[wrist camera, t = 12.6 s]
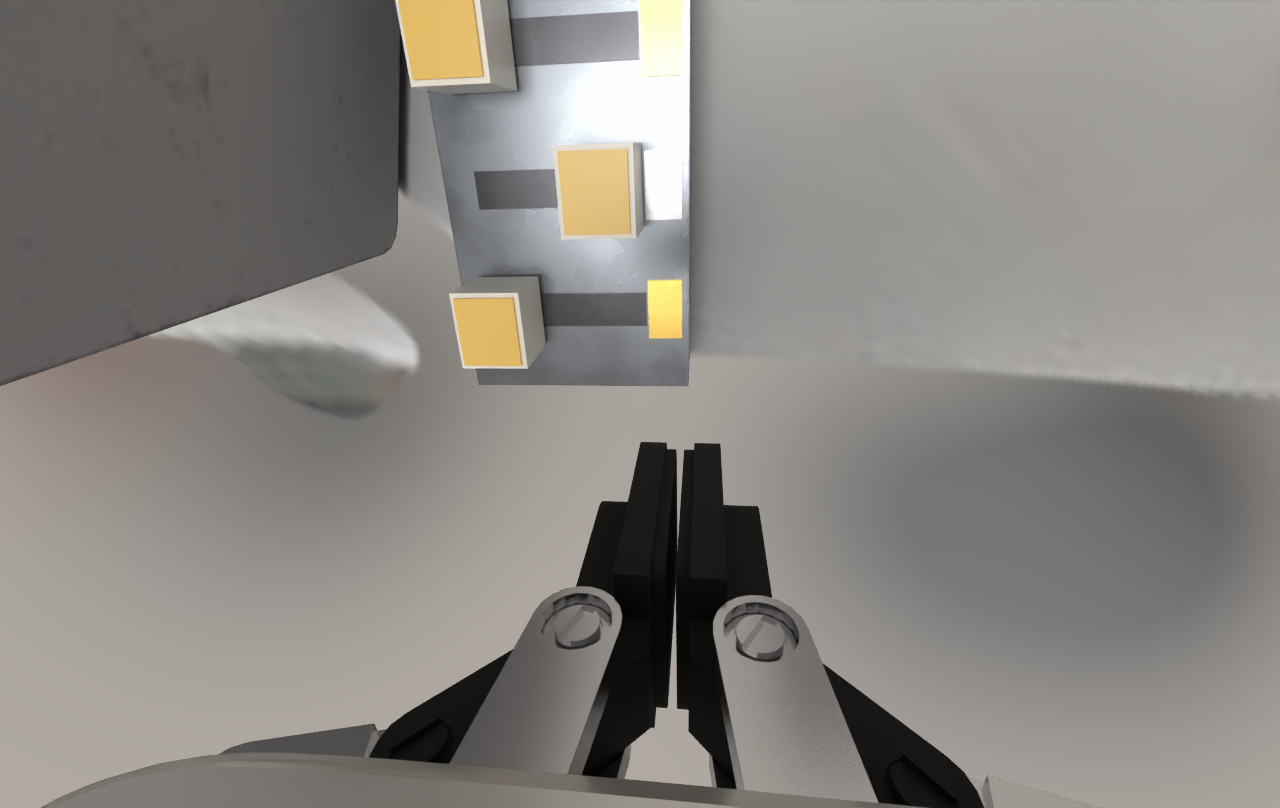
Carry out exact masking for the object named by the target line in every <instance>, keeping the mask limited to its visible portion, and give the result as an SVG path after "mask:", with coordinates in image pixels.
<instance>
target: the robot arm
mask: <svg viewBox="0 0 1280 808" xmlns="http://www.w3.org/2000/svg"><path fill="white" fill-rule="evenodd" d="M694 447H695V448H694V450H684V461H683V476H682V492H681V507H680V522H679V537H678V552H677V458H676V457H677V455H676V450H674V449H673V450H672V449H667V443H660V442H658V443H657V442H641V444H640V448H639V453H638V457H637V462H636V467H635V471H634V476H633V481H632V485H631V490H630V495H629V499H628V502H612V501H602V502H601V504H600V506H599V509H598V513H597V516H596V520H595V523H594V527H593V530H592V533H591V537H590V540H589V544H588V547H587V551H586V554H585V558H584V561H583V565H582V568H581V571H580V575H579V578H578V582H577V585H576V587H572V588H566V589H563V590H561V591H559V592H557V593H554V594H552V595H551V596H549V597H548V598H547V599H545V600H544V601H543V602H542V603H541V604H540V605H539V606H538V608H537V609H536V610H535V612H534V613H533V615H532V617H531V619H530V620H529V622H528V624H527V626H526V628H525V629H524V631H523V633H522V635H521V637H520V638H519V640H518V642H517V644H516V646H515V647H514V649H513V650H511V651H509V652H508V653H506V654H504V655H503V656H501V657H499V658H498V659H496V660H494V661H493V662H491V663H489V664H488V665H486V666H484V667H483V668H481V669H479V670H478V671H476V672H474V673H473V674H471V675H469V676H468V677H466V678H464V679H463V680H461V681H459V682H458V683H456V684H454V685H453V686H451V687H449V688H448V689H446V690H444V691H443V692H441V693H439V694H437V695H436V696H434V697H432V698H431V699H429V700H427V701H426V702H424V703H422V704H421V705H419V706H418V707H416V708H414V709H412V710H411V711H410V712H407V713H406V714H404V715H403V716H402V717H401V718H399V719H398V720H397V721H395V722H394V723H393V724H391V725H390V726H389V727H388V729H386V730H380V731H377V729H376V726H375V724H368V725H361V726H354V727H348V728H341V729H335V730H328V731H321V732H314V733H307V734H300V735H293V736H287V737H280V738H273V739H266V740H260V741H253V742H248V743H244V744H241V745H238V746H234V747H231V748H229V749H227V750H225V751H224V752H222V753H220V754H218V755H208V756H200V757H194V758H188V759H183V760H176V761H171V762H165V763H160V764H156V765H152V766H149V767H145V768H142V769H138V770H135V771H131V772H128V773H124V774H120V775H117V776H114V777H110V778H107V779H104V780H101V781H99V782H96V783H93V784H90V785H88V786H85V787H82V788H80V789H78V790H75V791H73V792H71V793H69V794H66V795H64V796H62V797H59V798H57V799H55V800H53V801H52V802H50V803H48V804H46V805H45V806H43V807H41V808H1100V807H1097V806H1093V805H1090V804H1087V803H1083V802H1080V801H1076V800H1073V799H1069V798H1066V797H1063V796H1059V795H1056V794H1053V793H1049V792H1046V791H1042V790H1039V789H1035V788H1032V787H1029V786H1025V785H1022V784H1018V783H1015V782H1011V781H1008V780H1005V779H1001V778H998V777H994V776H991V775H987V777H986V779H985V782H982V781H978V780H975V779H972V778H968V777H967V776H966V774H965V773H964V772H963V771H962V770H961V769H960V768H959V767H958V766H957V765H956V764H954V763H953V762H952V761H951V760H950V759H949V758H948V757H947V756H945V755H944V754H943V753H941V752H940V751H939V750H937V749H936V748H935V747H933V746H932V745H931V744H929V743H928V742H927V741H925V740H924V739H923V738H922V737H920V736H919V735H917V734H916V733H915V732H914V731H912V730H911V729H909V728H908V727H907V726H905V725H904V724H903V723H902V722H900V721H899V720H898V719H896V718H895V717H894V716H892V715H891V714H889V713H888V712H887V711H885V710H884V709H883V708H881V707H880V706H879V705H878V704H876V703H875V702H874V701H872V700H871V699H870V698H868V697H867V696H866V695H864V694H863V693H862V692H860V691H859V690H858V689H856V688H855V687H854V686H852V685H851V684H849V683H848V682H847V681H846V680H844V679H843V678H842V677H840V676H839V675H837V674H836V673H835V672H833V671H832V670H831V669H829V668H828V667H827V666H825V665H824V664H823V663H822V661H821V659H820V656H819V654H818V651H817V649H816V646H815V644H814V641H813V639H812V637H811V634H810V632H809V629H808V627H807V625H806V624H805V622H804V620H803V619H802V617H801V616H800V615H799V614H798V613H797V612H796V611H795V610H794V609H793V608H792V607H790V606H788V605H787V604H785V603H783V602H781V601H779V600H777V599H774V598H772V594H771V587H770V580H769V575H768V567H767V560H766V553H765V547H764V541H763V533H762V526H761V521H760V513H759V508H758V507H757V506H733V505H723V487H722V467H721V448H720V444H707V443H705V444H704V443H695V446H694ZM675 588H676V638H677V640H676V642H677V643H676V644H677V709H687V710H689V732H690V733H691V734H692V735H693V736H694V737H695V739H696V740H697V741H698V742H699V743H700V744H701V745H702V746H703V747H704V748H705V749H706V750H707V751H708V752H709V768H710V774H711V781H712V787H704V786H693V785H682V784H672V783H661V782H650V781H639V780H627V779H625V775H626V771H627V768H628V764H629V760H630V752H631V743H632V742H633V741H635V740H636V739H637V738H638V737H640V736H641V735H642V734H643V733H645V732H646V731H647V730H648V729H650V727H651V728H654V726H655V715H656V707H660V708H667V707H668V696H669V678H670V663H671V649H672V634H673V619H674V618H673V617H674V604H675Z"/></svg>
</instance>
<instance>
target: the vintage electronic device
mask: <svg viewBox="0 0 1280 808" xmlns="http://www.w3.org/2000/svg"><path fill="white" fill-rule="evenodd" d="M399 68H400V24H399V19H398V13H397V8H396V2H395V0H0V386H2V385H5V384H8V383H11V382H13V381H16V380H19V379H22V378H25V377H28V376H31V375H34V374H37V373H39V372H43V371H45V370H48V369H51V368H54V367H57V366H60V365H63V364H66V363H69V362H72V361H74V360H77V359H80V358H83V357H86V356H89V355H92V354H95V353H98V352H100V351H103V350H106V349H109V348H112V347H115V346H118V345H121V344H124V343H127V342H130V341H133V340H135V339H138V338H141V337H144V336H147V335H150V334H153V333H156V332H159V331H162V330H164V329H167V328H170V327H173V326H176V325H179V324H182V323H185V322H188V321H191V320H194V319H196V318H199V317H202V316H205V315H208V314H211V313H214V312H217V311H220V310H223V309H225V308H228V307H231V306H234V305H237V304H240V303H243V302H246V301H249V300H252V299H254V298H257V297H260V296H263V295H266V294H269V293H272V292H275V291H278V290H281V289H284V288H286V287H289V286H292V285H295V284H298V283H301V282H304V281H307V280H310V279H313V278H315V277H318V276H321V275H324V274H327V273H330V272H333V271H336V270H339V269H341V268H344V267H347V266H350V265H353V264H356V263H359V262H362V261H365V260H368V259H371V258H373V257H376V256H379V255H382V254H385V253H386V252H387V251H388V250H389V249H390V248H391V246H392V244H393V242H394V240H395V237H396V232H397V224H398V152H399Z"/></svg>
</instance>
